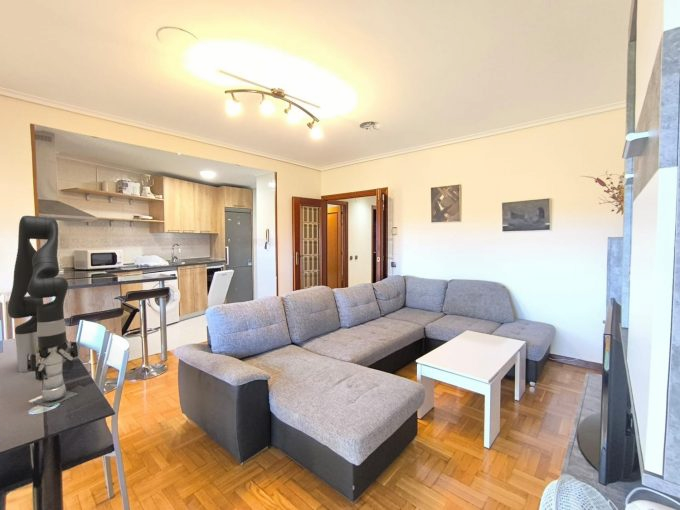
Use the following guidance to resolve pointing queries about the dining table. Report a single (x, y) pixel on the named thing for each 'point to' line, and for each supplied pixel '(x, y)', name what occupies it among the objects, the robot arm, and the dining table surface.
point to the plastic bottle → (53, 376)
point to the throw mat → (40, 401)
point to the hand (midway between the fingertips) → (55, 375)
